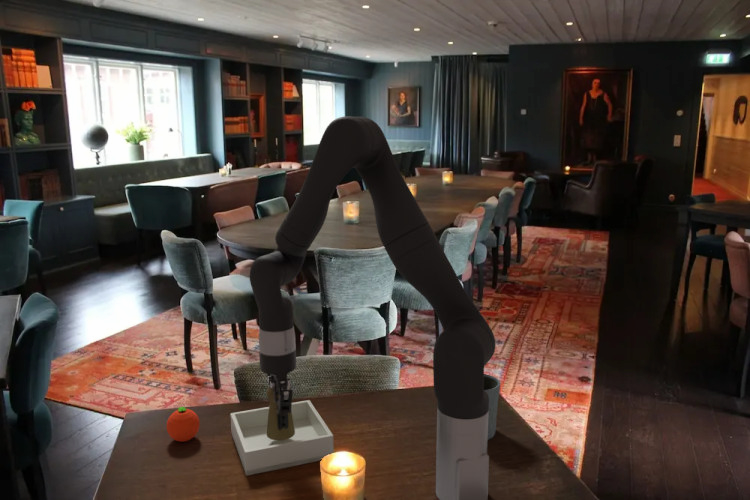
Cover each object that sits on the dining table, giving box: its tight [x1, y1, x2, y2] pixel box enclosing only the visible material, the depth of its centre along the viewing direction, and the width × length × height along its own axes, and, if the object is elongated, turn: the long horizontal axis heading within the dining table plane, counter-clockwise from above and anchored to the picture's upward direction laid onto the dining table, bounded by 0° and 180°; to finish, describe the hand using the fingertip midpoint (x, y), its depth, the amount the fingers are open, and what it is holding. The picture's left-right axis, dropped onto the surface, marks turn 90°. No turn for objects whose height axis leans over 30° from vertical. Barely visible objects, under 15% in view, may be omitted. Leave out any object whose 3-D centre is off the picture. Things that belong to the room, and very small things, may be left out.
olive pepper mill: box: [266, 386, 295, 440], centre depth 133 cm, size 6×6×11 cm
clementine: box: [166, 406, 201, 442], centre depth 137 cm, size 8×7×7 cm
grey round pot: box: [484, 373, 501, 441], centre depth 139 cm, size 10×10×12 cm
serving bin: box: [230, 399, 335, 477], centre depth 134 cm, size 18×18×5 cm
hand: (280, 423), depth 134 cm, fingers closed on olive pepper mill, 4 cm apart
